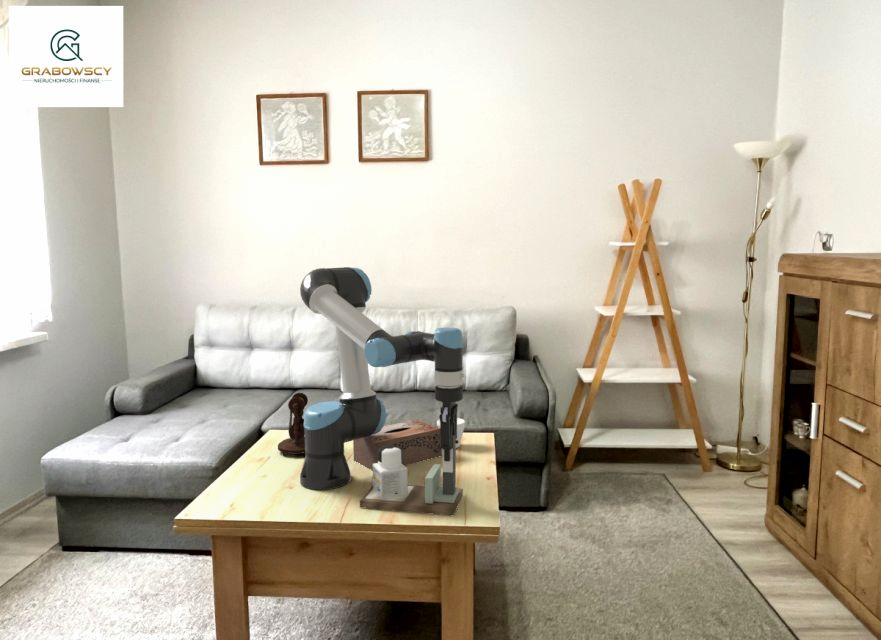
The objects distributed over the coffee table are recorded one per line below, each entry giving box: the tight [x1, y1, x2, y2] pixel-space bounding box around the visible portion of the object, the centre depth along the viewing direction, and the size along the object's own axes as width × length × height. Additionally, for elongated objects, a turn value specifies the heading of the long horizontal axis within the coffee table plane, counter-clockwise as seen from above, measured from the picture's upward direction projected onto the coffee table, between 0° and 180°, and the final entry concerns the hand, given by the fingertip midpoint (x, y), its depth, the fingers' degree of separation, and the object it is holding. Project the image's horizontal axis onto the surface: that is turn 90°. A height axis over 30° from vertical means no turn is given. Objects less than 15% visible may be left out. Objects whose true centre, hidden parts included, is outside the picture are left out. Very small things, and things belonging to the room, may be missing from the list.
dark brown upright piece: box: [277, 392, 309, 457], centre depth 220 cm, size 15×15×20 cm
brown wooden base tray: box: [359, 484, 464, 516], centre depth 177 cm, size 26×14×2 cm, turn 78°
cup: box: [436, 417, 466, 449], centre depth 225 cm, size 10×10×9 cm
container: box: [372, 445, 409, 499], centre depth 177 cm, size 8×8×13 cm
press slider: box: [424, 435, 460, 504], centre depth 174 cm, size 8×11×17 cm
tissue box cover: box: [352, 419, 443, 472], centre depth 212 cm, size 26×14×10 cm, turn 127°
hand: (449, 469), depth 174 cm, fingers closed on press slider, 3 cm apart
